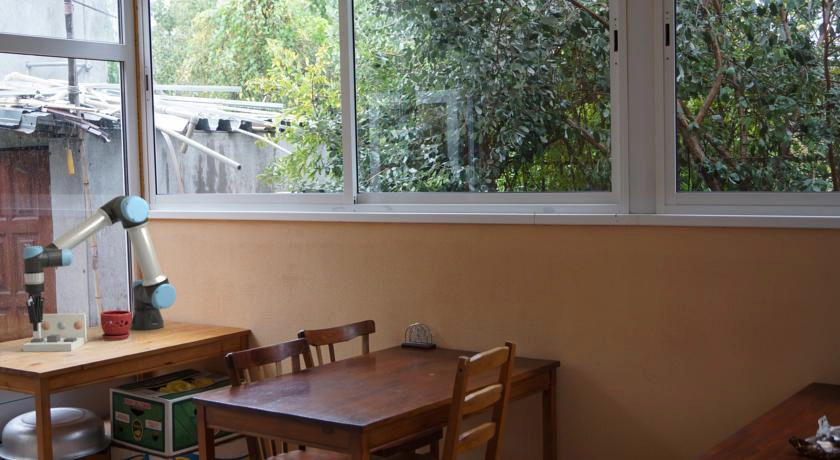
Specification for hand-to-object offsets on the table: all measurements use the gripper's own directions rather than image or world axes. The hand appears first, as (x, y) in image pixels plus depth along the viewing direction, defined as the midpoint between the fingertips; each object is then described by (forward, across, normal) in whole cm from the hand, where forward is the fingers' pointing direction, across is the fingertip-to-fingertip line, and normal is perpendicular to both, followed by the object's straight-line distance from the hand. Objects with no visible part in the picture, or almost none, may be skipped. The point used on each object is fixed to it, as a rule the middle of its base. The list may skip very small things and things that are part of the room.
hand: (37, 338), depth 395 cm
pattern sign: (+4, -10, +7) cm, 13 cm away
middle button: (+2, 0, +7) cm, 7 cm away
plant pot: (+5, -20, +27) cm, 34 cm away
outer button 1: (+3, 0, +14) cm, 14 cm away
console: (+4, 0, +7) cm, 8 cm away
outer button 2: (+3, 0, 0) cm, 3 cm away
